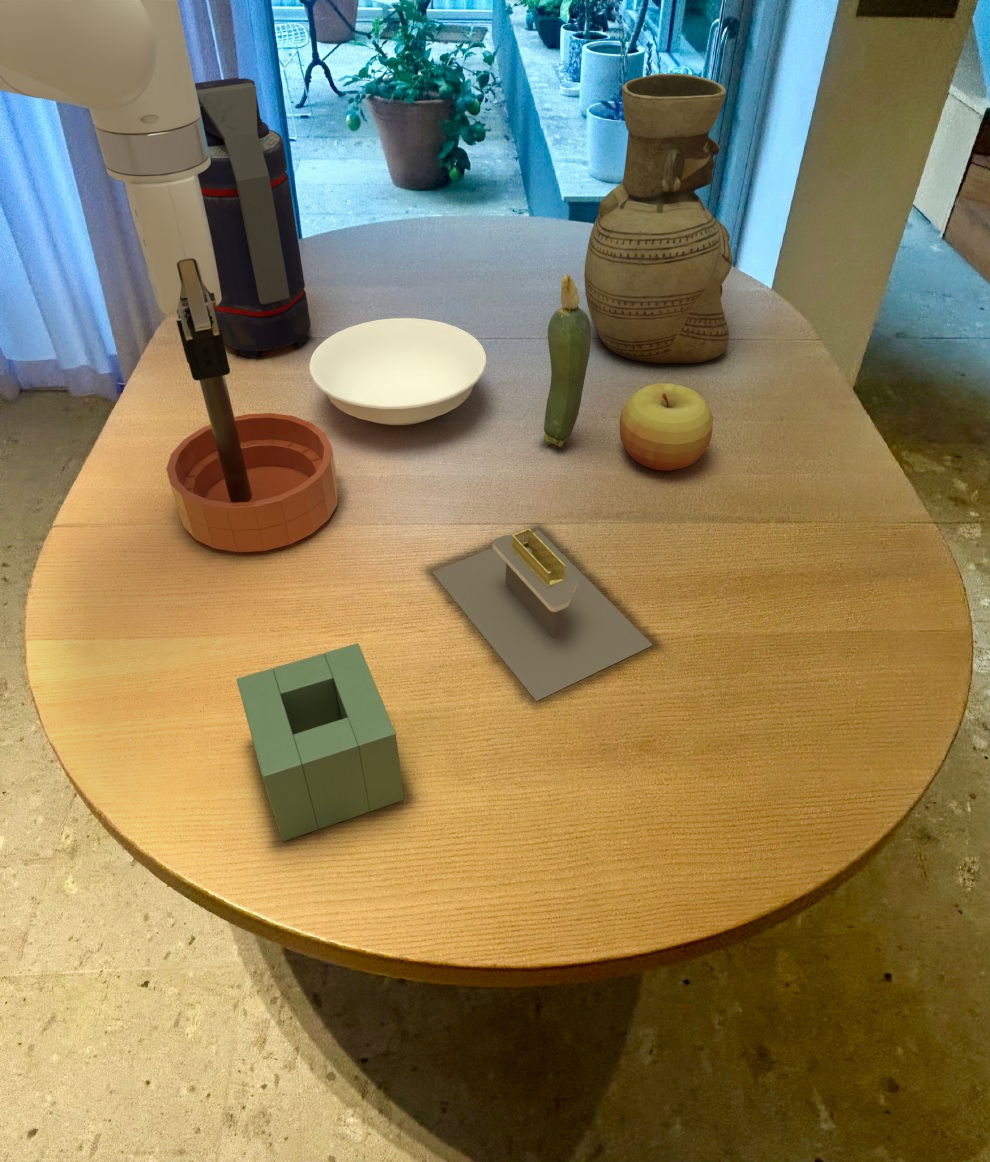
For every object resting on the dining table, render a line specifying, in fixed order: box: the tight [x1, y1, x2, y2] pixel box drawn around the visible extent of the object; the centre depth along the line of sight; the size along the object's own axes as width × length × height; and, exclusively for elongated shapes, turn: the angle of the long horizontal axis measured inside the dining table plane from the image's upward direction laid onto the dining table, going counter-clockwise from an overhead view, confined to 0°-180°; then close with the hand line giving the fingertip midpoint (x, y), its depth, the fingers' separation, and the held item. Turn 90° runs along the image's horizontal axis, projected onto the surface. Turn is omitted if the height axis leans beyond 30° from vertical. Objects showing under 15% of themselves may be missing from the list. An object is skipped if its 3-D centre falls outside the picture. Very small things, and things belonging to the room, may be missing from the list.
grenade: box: [195, 77, 311, 358], centre depth 105 cm, size 14×12×30 cm
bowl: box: [308, 317, 488, 426], centre depth 101 cm, size 20×20×6 cm
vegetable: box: [543, 274, 592, 448], centre depth 91 cm, size 4×4×20 cm
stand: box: [236, 642, 404, 842], centre depth 64 cm, size 9×9×8 cm
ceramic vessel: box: [583, 73, 733, 364], centre depth 106 cm, size 19×21×30 cm
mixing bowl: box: [165, 412, 339, 553], centre depth 88 cm, size 16×16×6 cm
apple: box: [619, 382, 714, 471], centre depth 94 cm, size 10×10×8 cm
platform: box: [431, 528, 653, 702], centre depth 77 cm, size 12×18×7 cm, turn 31°
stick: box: [186, 312, 252, 503], centre depth 81 cm, size 2×2×20 cm
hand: (208, 366), depth 78 cm, fingers closed on stick, 2 cm apart
